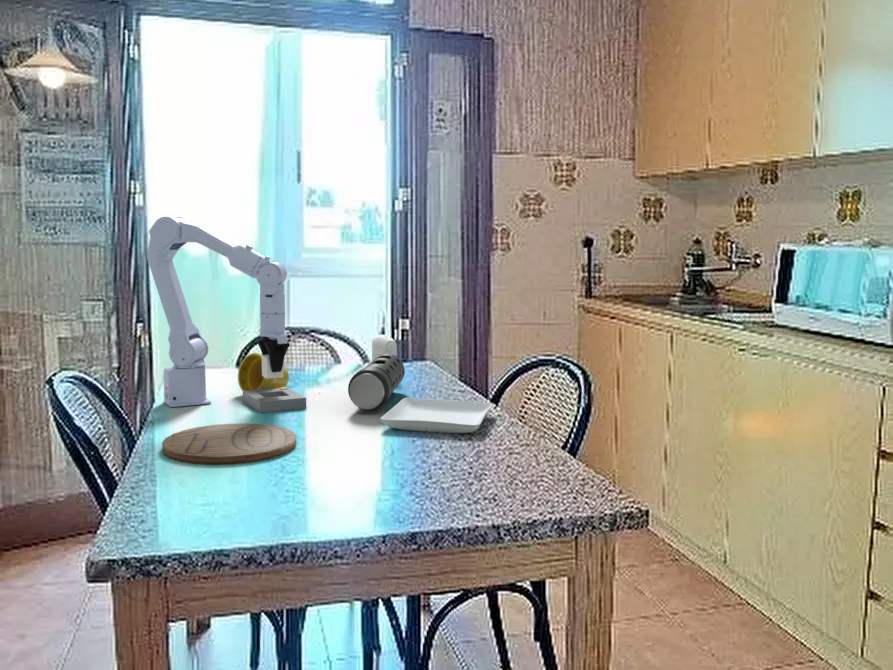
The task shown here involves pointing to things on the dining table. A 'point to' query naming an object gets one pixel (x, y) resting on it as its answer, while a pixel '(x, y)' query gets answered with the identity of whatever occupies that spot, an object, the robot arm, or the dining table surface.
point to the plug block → (267, 369)
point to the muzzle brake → (376, 382)
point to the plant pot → (257, 375)
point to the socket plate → (274, 399)
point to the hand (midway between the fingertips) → (273, 370)
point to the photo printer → (383, 346)
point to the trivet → (229, 444)
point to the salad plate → (436, 415)
